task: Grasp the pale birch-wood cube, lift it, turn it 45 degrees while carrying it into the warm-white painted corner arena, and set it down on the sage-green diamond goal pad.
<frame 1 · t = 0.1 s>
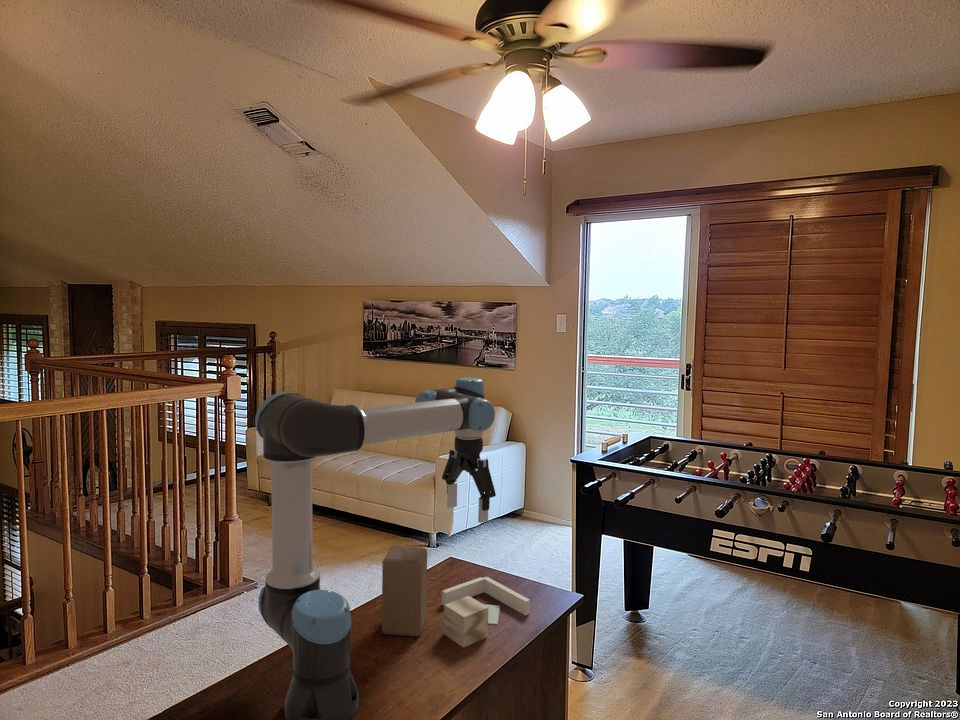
hand: (467, 514, 178), 28 cm above the table, fingers open, 13 cm apart
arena: (480, 614, 180), on the table
birch cube: (465, 635, 169), on the table
wooden block: (404, 627, 173), on the table
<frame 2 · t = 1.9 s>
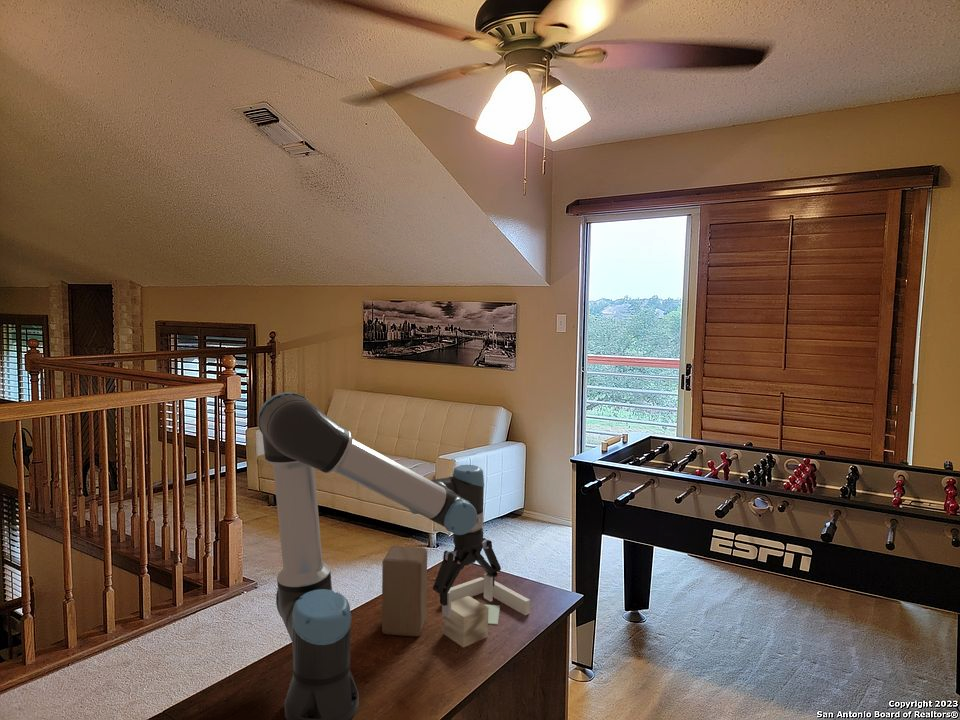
hand: (467, 607, 169), 7 cm above the table, fingers open, 13 cm apart
nothing on the table moved.
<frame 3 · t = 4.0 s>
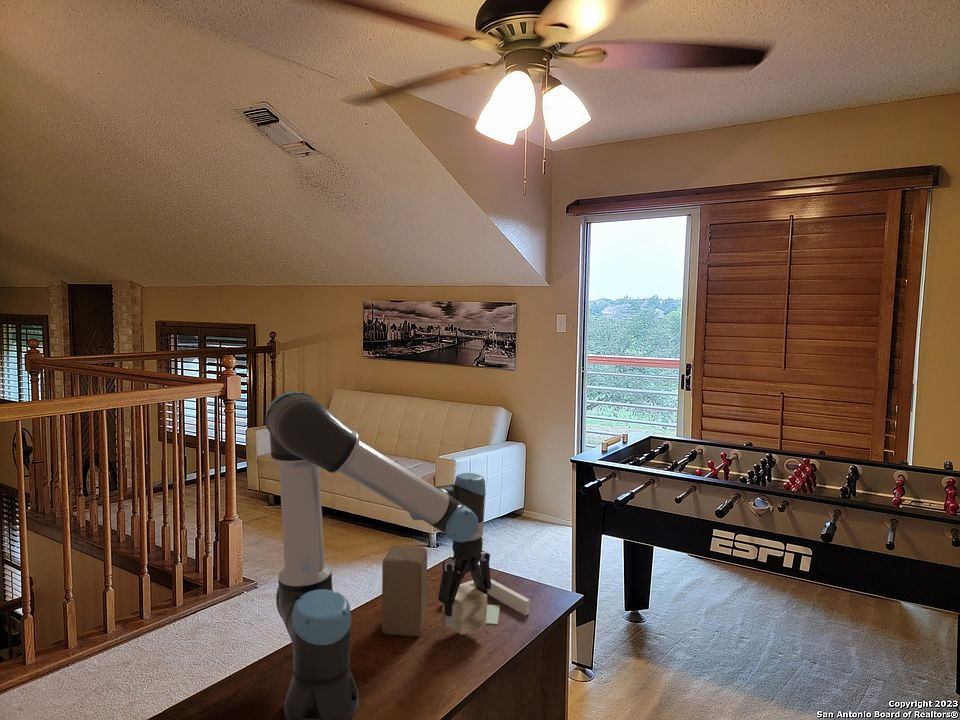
hand: (463, 622, 169), 4 cm above the table, fingers closed on birch cube, 8 cm apart
birch cube: (463, 623, 169), point 3 cm above the table, touching gripper
everything else where it was.
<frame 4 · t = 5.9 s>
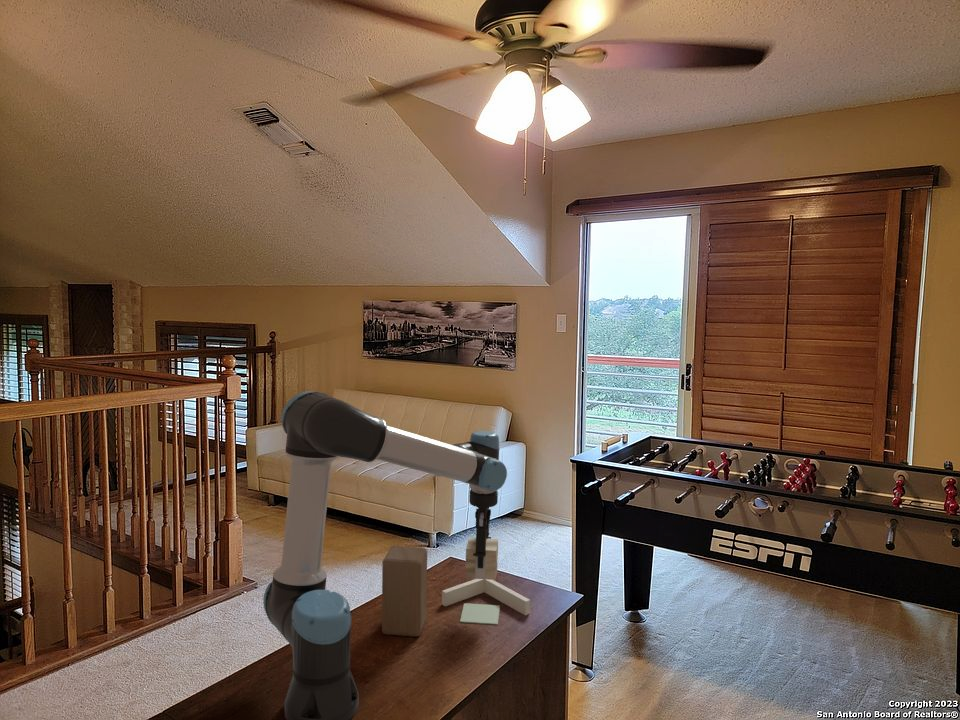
hand: (481, 571, 179), 12 cm above the table, fingers closed on birch cube, 8 cm apart
birch cube: (481, 572, 179), point 12 cm above the table, touching gripper
everything else where it was.
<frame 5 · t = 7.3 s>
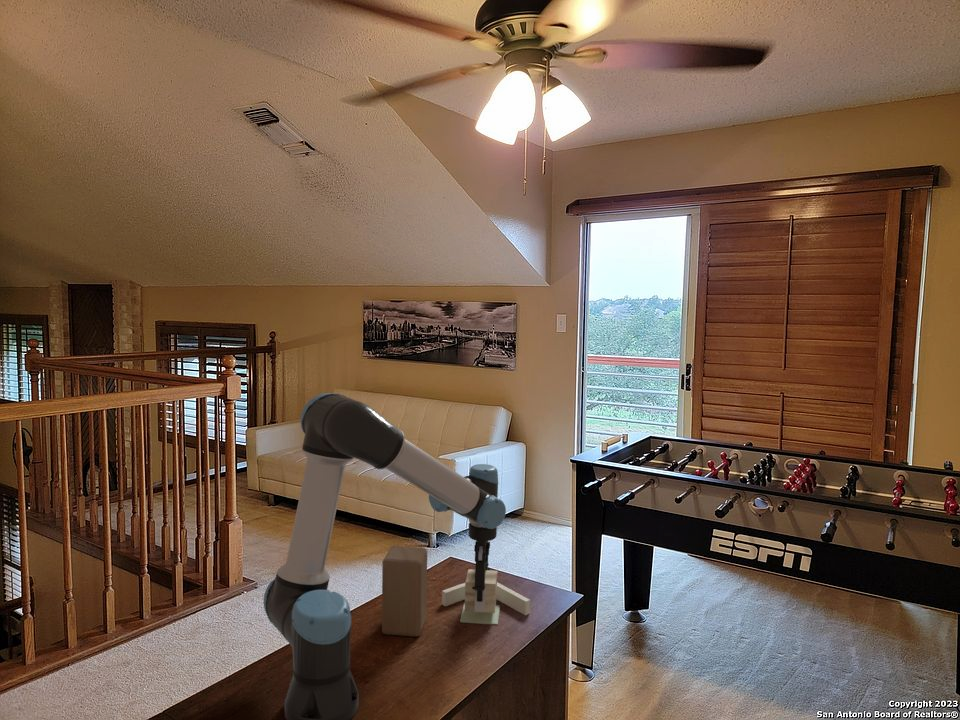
hand: (481, 603, 180), 3 cm above the table, fingers closed on birch cube, 8 cm apart
birch cube: (481, 604, 180), point 3 cm above the table, touching gripper
everything else where it was.
when the fingers open (1 cm above the table, at t = 8.2 s): birch cube stays where it is, resting on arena.
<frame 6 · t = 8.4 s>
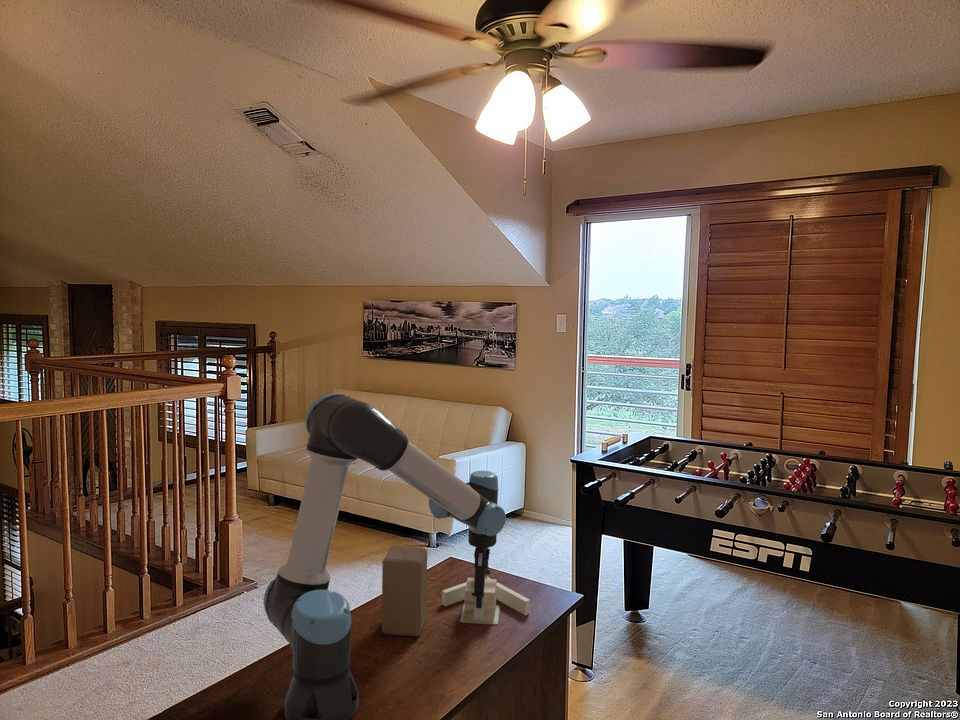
hand: (480, 607, 180), 2 cm above the table, fingers open, 10 cm apart
birch cube: (480, 613, 180), resting on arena
everything else where it was.
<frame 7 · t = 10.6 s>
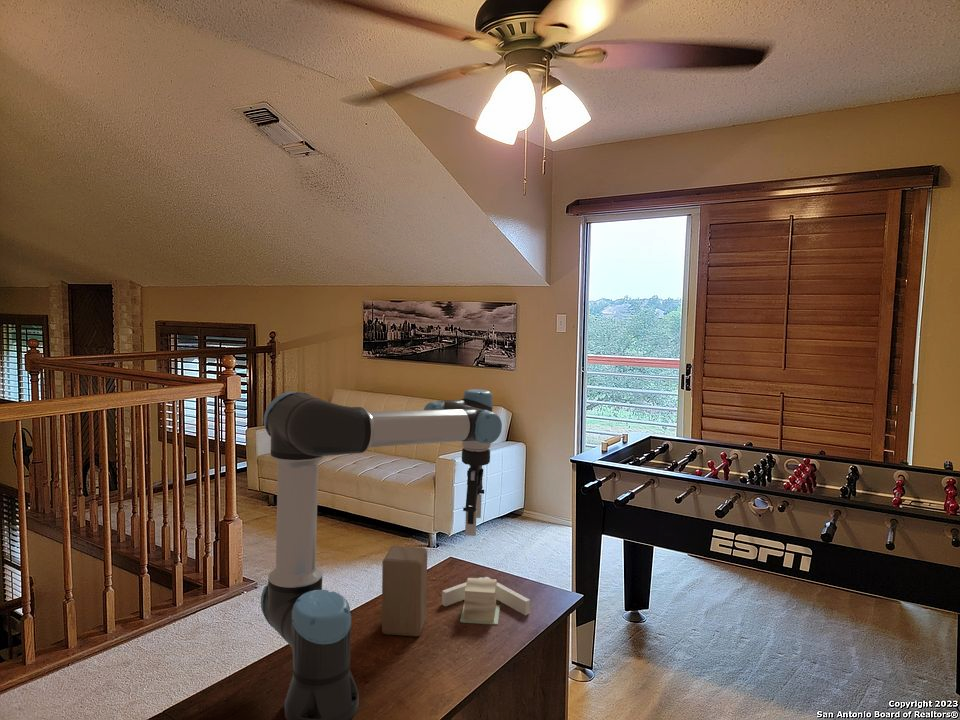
hand: (473, 526, 178), 25 cm above the table, fingers open, 13 cm apart
nothing on the table moved.
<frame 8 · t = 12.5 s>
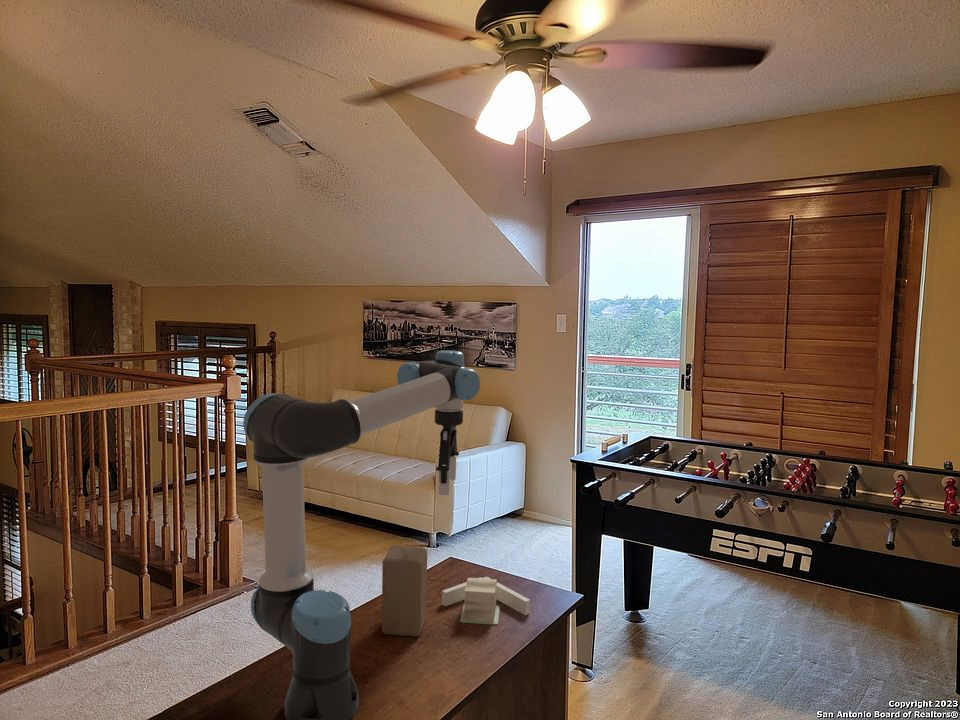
hand: (447, 486, 178), 35 cm above the table, fingers open, 13 cm apart
nothing on the table moved.
at the end: birch cube inside the target area on the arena (0.0 cm from its centre), point 0.3 cm above the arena's base; birch cube tilted 0°; the gripper is holding nothing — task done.
